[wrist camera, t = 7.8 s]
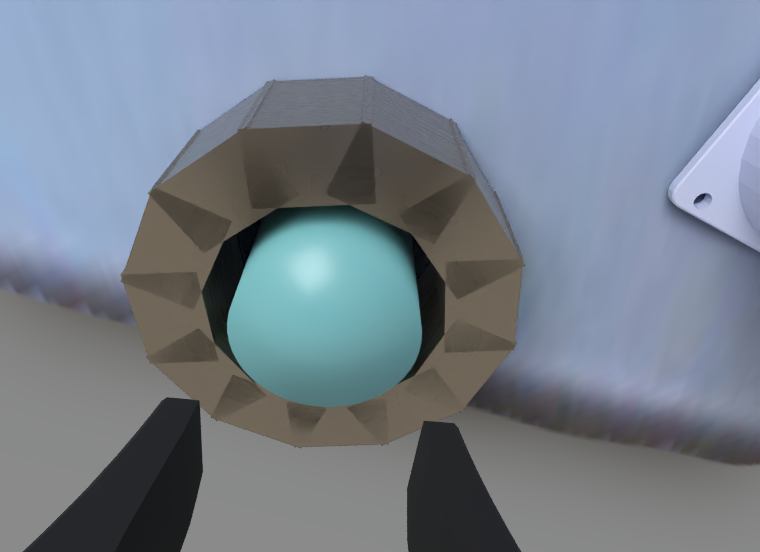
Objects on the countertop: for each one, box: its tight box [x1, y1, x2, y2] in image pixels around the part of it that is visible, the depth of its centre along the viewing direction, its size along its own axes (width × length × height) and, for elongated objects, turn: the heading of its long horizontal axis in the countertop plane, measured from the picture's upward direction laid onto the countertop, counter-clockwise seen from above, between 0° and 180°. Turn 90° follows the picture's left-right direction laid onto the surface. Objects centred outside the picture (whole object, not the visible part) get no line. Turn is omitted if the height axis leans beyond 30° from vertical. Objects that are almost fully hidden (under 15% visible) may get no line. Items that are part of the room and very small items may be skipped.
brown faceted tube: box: [121, 75, 525, 448], centre depth 17 cm, size 10×10×4 cm
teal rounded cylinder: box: [227, 205, 422, 407], centre depth 17 cm, size 5×5×5 cm
